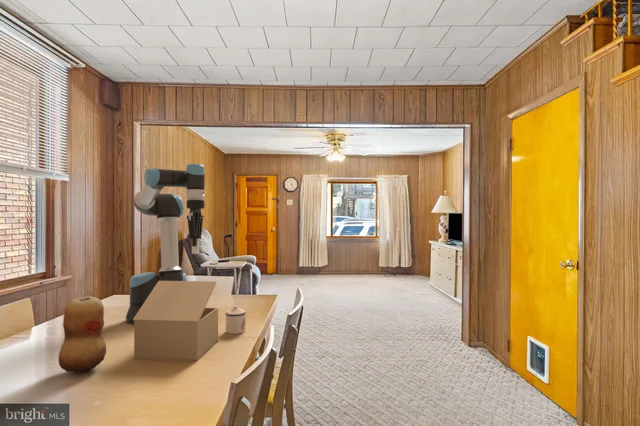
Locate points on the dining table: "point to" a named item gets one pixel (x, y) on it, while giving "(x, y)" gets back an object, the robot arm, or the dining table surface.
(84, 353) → the butternut squash
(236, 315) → the teacup with lid
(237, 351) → the dining table surface
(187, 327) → the carton
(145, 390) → the dining table surface
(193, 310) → the carton lid
